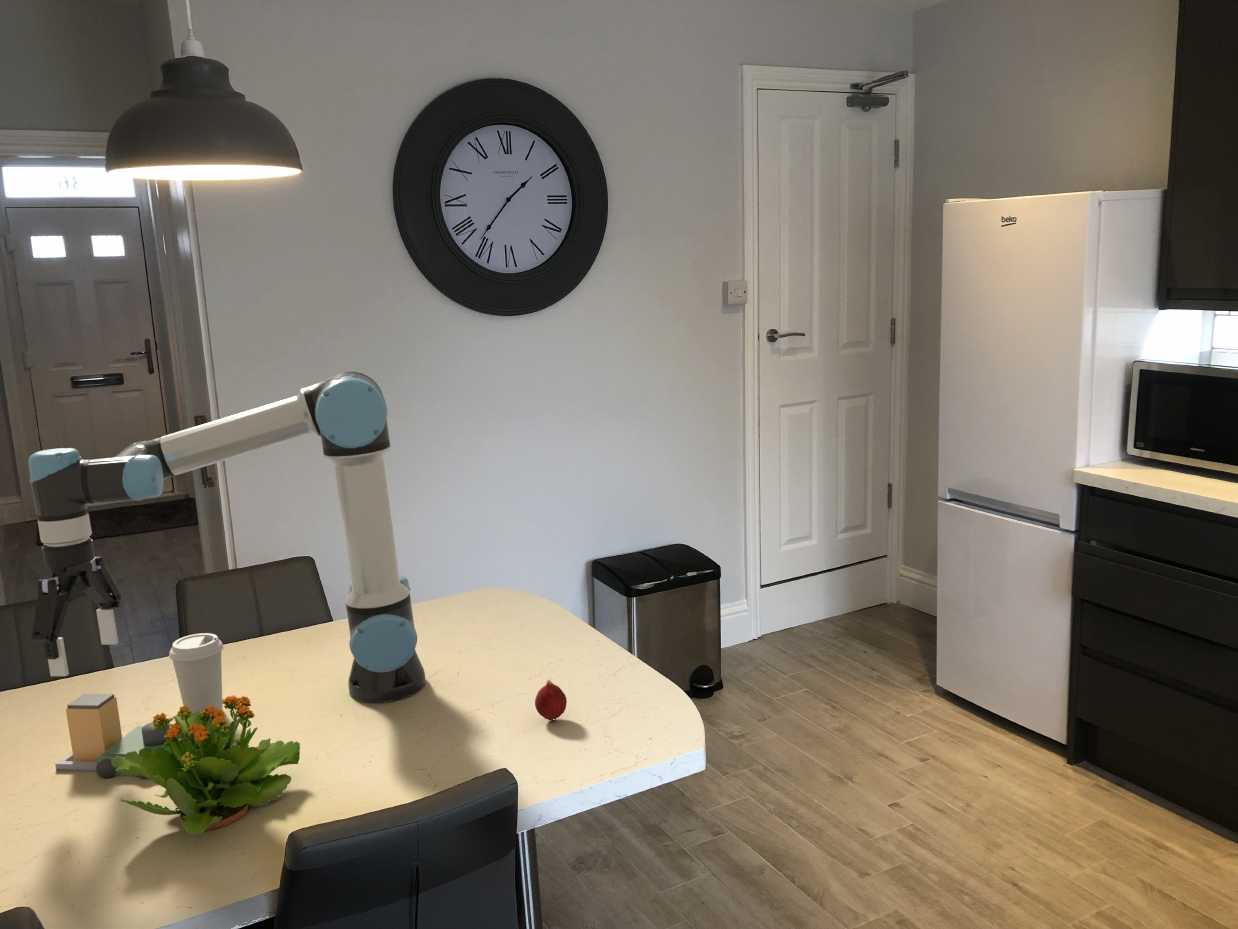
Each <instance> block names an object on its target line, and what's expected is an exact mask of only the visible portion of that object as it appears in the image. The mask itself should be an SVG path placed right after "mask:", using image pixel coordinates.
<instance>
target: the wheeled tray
mask: <svg viewBox="0 0 1238 929" xmlns="http://www.w3.org/2000/svg"><path fill="white" fill-rule="evenodd" d="M153 727H154V725H153V721H151V722H149V723H146V724H145V725H136V726H134V728H132V730H130V731H129V732H127V733H126V734H125V735H124V736H122V738H121V739H120V740H119V741H117V742H116V743H115V744H114V745H112V746H111V747H110V748H109V749H107V750H106V751H105V752H104V753H102V754H101V755H100V756H99V757H97V758H96V762H86V761H74V759H73V752H72V751H71V752H69V753H68V754H66V755H65V756H64V757H63V758H61V759H59V760H58V761H57V762H55V770H56V771H68V772H69V771H70V772H71V771H72V772H74V771H77V772H83V771H84V772H96V773H97V775H98V776H99V777H101V778H103V779H108V778H110V777H113V776H129V777H131V776H133V777H134V776H137V777H139V778H140V779H142V780H143V779H144V780H147V779H149V778H147V777H144V776H141V775H137V774H133V773H125V772H116V770H117V767H116V768H113V766H112V764H111V760H112V759H113V758H115V756H116V755H118V756H121V757H123V758H124V757H125V756H124V755H125V754H127V753H128V752H133V751H136V752H137V753H138V754H139V750H140V749H143V748H147V749H149V748H150V749H152V751H153V752H154V750H155V748H156V747H162V748H165V750H168V751H169V748H168V747H167V746H164V745H165V744H164V743H165V742H167V740H166V738H164V736H165V734H164V732H163V730H161V729H158V730H154V728H153ZM170 727H171V726H166V728H165V729H164V730H165V732H166V735H167V731H168V730H169V729H170ZM161 728H162V727H161ZM178 740H181V739H178ZM177 759H178V758H177ZM115 769H116V770H115Z"/></svg>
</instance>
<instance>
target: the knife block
mask: <svg viewBox="0 0 1238 929" xmlns="http://www.w3.org/2000/svg"><path fill="white" fill-rule="evenodd" d="M66 705H67V707H66V708H65V712H66V713H65V714H66V719H67V720H66V721H67V726H68V732H69V739H70V744H71V752H73V759H74V761H86V762H96V758H97V757H99V756H100V755H101V754H102V753H104V752H105V751H106V750H107V749H109V748H110V747H111V746H112V745H114V744H115V743H116V742H117V741H119V740H120V739H121V738H122V737H123V734H122V727H121V720H120V712H119V707H118V706H119V705H118V700H117V696H115V693H83V694H82V695H79V696H78V697H76V699H74V700H73V701H71V702H70V703H68V704H66Z"/></svg>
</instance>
